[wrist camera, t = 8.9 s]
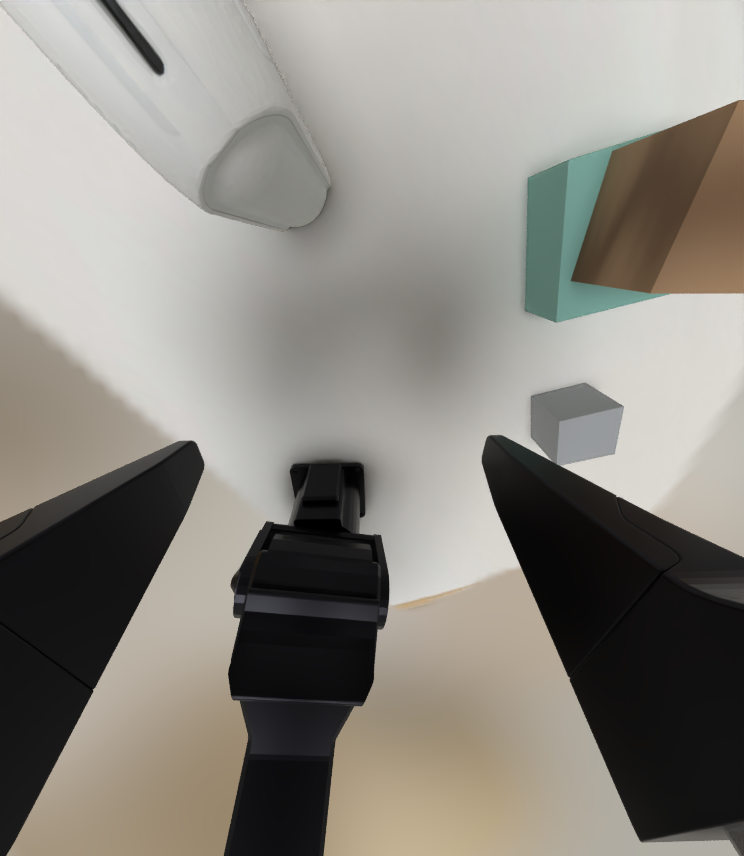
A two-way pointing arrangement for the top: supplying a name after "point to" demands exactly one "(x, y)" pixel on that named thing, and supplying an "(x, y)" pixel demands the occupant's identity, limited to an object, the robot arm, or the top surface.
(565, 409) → the slate block
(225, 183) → the photo printer
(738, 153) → the walnut cube
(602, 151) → the teal base block
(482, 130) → the top surface
